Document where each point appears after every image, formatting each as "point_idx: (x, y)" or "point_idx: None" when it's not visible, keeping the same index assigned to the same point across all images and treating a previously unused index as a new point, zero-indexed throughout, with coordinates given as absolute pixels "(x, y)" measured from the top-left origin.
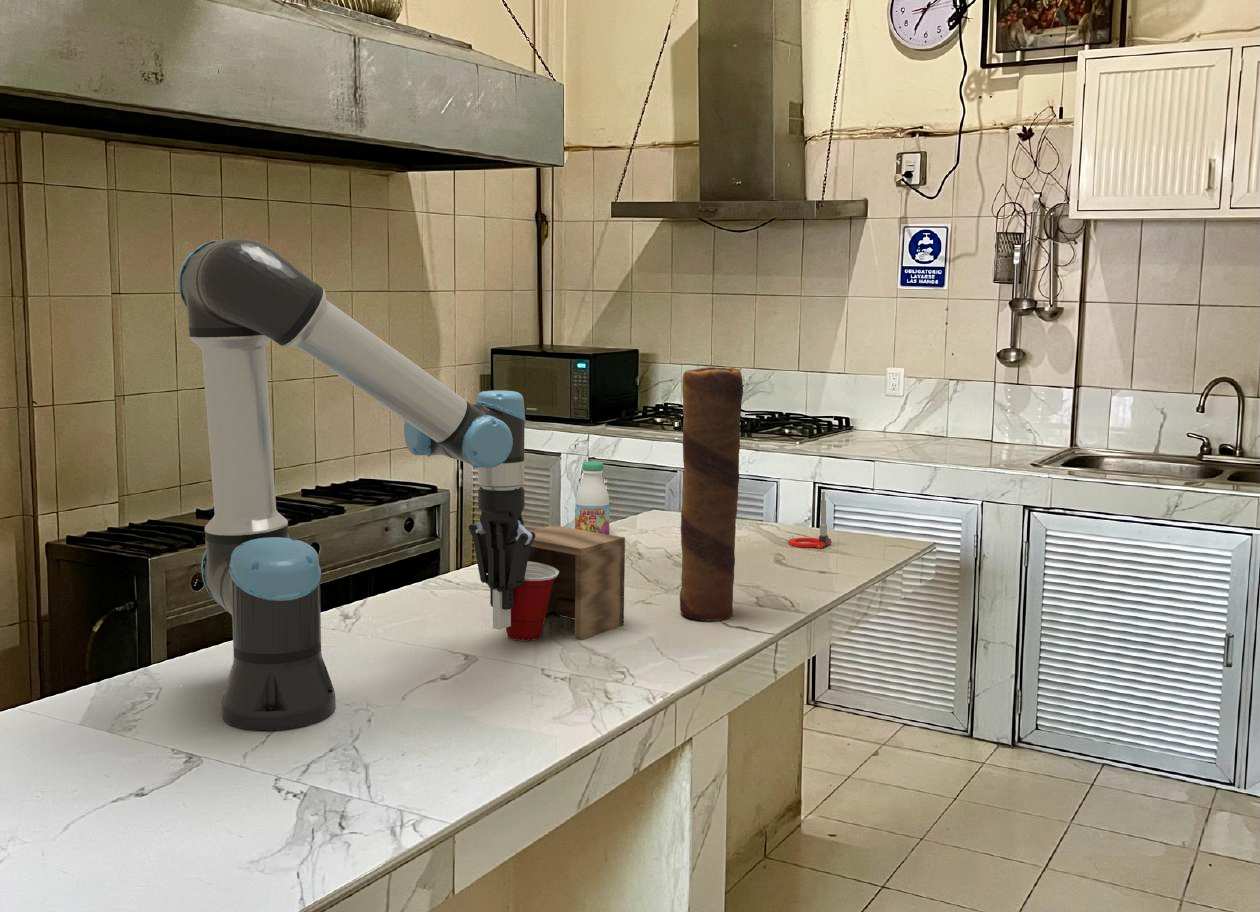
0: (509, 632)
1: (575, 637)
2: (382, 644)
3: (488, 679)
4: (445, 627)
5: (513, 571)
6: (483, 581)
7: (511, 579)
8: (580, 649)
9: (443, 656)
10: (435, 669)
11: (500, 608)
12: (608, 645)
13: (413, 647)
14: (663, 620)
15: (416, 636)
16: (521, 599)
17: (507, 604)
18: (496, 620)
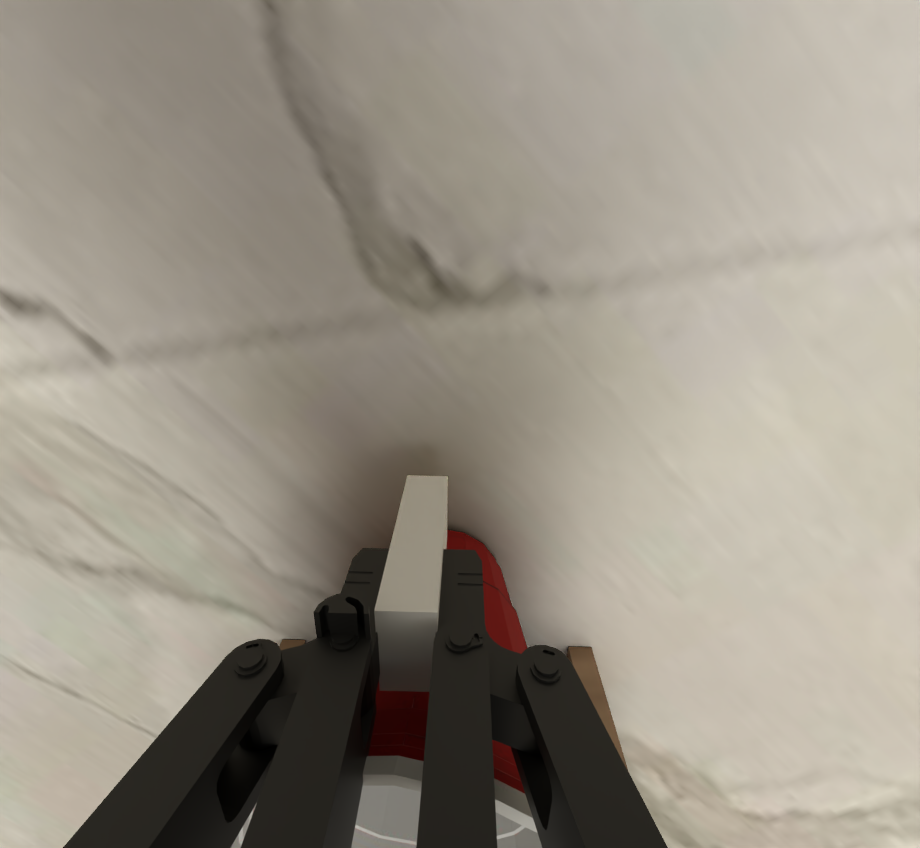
0: (454, 541)
1: (300, 644)
2: (891, 154)
3: (111, 80)
4: (758, 502)
5: (145, 790)
6: (537, 654)
7: (218, 708)
8: (207, 580)
9: (517, 210)
10: (404, 15)
11: (392, 540)
12: (185, 647)
13: (722, 221)
14: None
15: (802, 351)
16: None
17: (349, 570)
18: (421, 496)
